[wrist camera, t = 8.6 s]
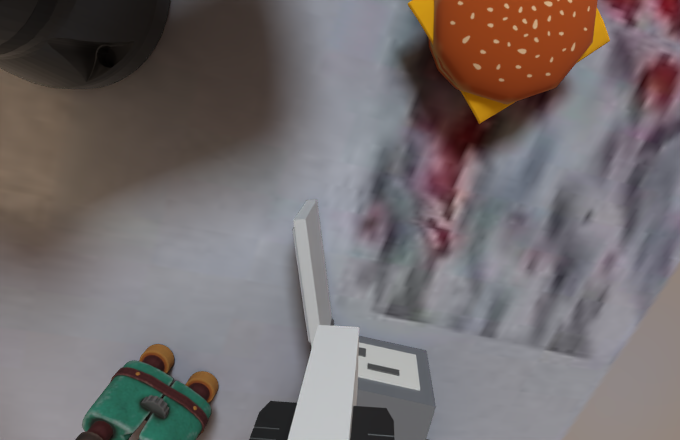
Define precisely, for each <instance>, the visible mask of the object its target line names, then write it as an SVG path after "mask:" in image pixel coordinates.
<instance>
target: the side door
mask: <svg viewBox="0 0 680 440" xmlns="http://www.w3.org/2000/svg"><path fill="white" fill-rule="evenodd" d="M293 221H294V227H293V229H292V231H293V238H294V245H295V252H296V259H297V266H298V273H299V279H300V286H301V293H302V300H303V307H304V314H305V321H306V328H307V335H308V342H311V347H312V346H313V342H314V338H315V334H316V330H317V327H318V325H329V326H334V320H333V319H332V313H331V305H330V297H329V289H328V281H327V273H326V265H325V257H324V249H323V242H322V234H321V226H320V218H319V210H318V202H317V199H314V200H307V201H306V202H305V204H304V205H303V207H302V208H301V210H300V211H299V212H298V214H297V215H296V217H295V218H294V220H293Z"/></svg>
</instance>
